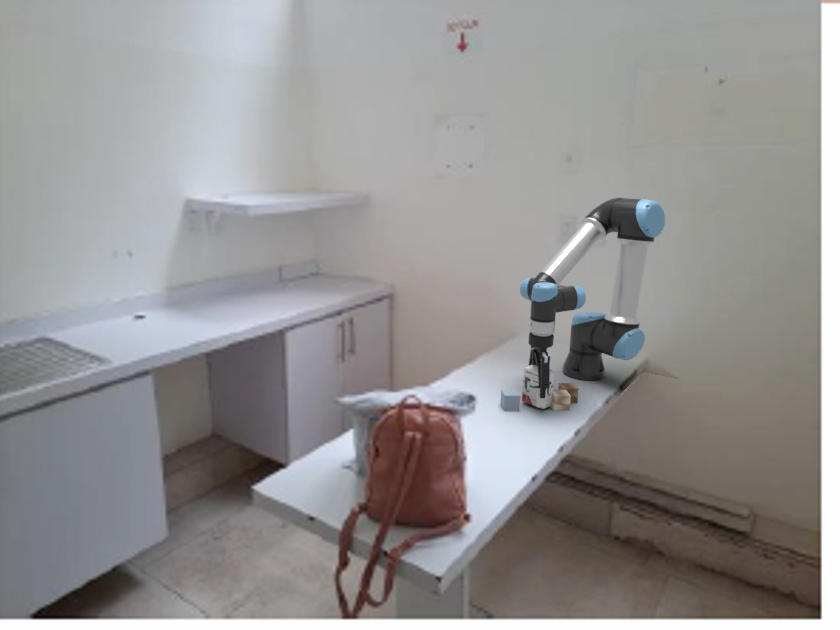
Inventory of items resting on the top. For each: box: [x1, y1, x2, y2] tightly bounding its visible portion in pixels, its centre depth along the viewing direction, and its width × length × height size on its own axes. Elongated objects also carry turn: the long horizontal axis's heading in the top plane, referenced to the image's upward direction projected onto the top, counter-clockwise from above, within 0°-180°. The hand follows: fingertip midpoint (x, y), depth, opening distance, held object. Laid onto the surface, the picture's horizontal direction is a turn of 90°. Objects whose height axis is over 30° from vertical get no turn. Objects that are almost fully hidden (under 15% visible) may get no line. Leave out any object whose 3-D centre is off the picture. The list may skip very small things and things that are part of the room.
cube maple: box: [550, 389, 571, 411], centre depth 183 cm, size 5×5×5 cm
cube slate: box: [500, 389, 521, 411], centre depth 182 cm, size 5×5×5 cm
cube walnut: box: [557, 382, 579, 404], centre depth 190 cm, size 5×5×5 cm
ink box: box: [521, 365, 555, 410], centre depth 183 cm, size 9×5×12 cm, turn 45°
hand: (536, 400), depth 184 cm, fingers closed on ink box, 9 cm apart
